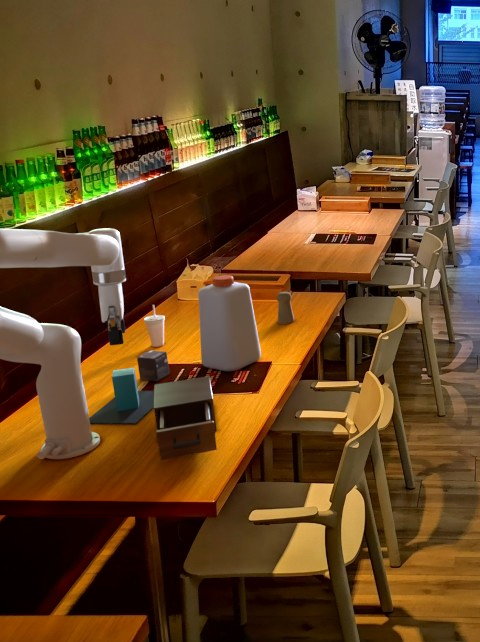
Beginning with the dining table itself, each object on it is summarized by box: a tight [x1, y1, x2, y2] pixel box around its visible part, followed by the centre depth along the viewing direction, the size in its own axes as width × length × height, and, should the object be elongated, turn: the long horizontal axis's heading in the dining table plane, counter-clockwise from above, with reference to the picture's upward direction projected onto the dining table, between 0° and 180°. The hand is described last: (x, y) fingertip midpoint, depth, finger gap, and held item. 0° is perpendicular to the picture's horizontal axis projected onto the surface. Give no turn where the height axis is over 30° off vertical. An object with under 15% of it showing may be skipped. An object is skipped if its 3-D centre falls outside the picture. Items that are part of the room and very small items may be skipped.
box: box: [136, 350, 170, 382], centre depth 218 cm, size 6×6×7 cm
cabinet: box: [153, 375, 218, 432], centre depth 189 cm, size 16×14×9 cm
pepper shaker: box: [276, 291, 295, 325], centre depth 267 cm, size 6×6×11 cm
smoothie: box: [143, 304, 166, 348], centre depth 244 cm, size 6×6×14 cm
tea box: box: [111, 366, 139, 411], centre depth 198 cm, size 5×5×10 cm
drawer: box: [155, 402, 218, 461], centre depth 176 cm, size 19×12×7 cm, turn 24°
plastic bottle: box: [197, 274, 262, 372], centre depth 227 cm, size 15×15×28 cm
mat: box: [89, 390, 154, 426], centre depth 199 cm, size 20×14×1 cm
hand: (117, 338), depth 193 cm, fingers open, 9 cm apart
